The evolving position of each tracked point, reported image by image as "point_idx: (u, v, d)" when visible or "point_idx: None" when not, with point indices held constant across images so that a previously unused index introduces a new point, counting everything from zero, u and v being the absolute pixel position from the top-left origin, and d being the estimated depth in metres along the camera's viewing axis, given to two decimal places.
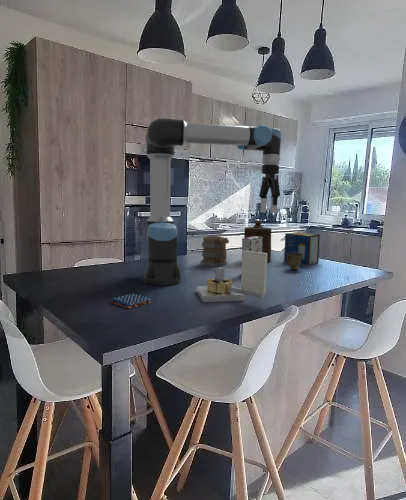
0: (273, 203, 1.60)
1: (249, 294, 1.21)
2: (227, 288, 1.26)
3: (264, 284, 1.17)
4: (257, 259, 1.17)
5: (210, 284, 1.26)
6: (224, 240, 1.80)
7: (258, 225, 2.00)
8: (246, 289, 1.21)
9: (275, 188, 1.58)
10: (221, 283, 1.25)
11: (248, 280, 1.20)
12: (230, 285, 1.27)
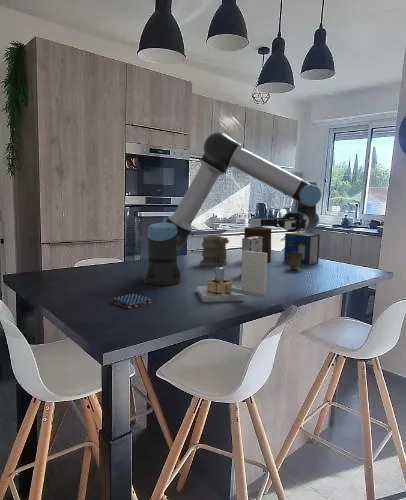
0: (294, 223, 1.24)
1: (249, 294, 1.21)
2: (227, 288, 1.26)
3: (264, 284, 1.17)
4: (257, 259, 1.17)
5: (210, 284, 1.26)
6: (224, 240, 1.80)
7: None
8: (246, 289, 1.21)
9: None
10: (221, 283, 1.25)
11: (248, 280, 1.20)
12: (230, 285, 1.27)
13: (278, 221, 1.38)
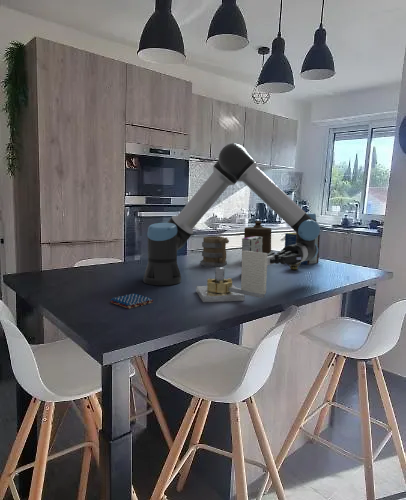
0: (272, 259, 1.28)
1: (249, 294, 1.21)
2: (227, 288, 1.26)
3: (264, 284, 1.17)
4: (257, 259, 1.17)
5: (210, 284, 1.26)
6: (224, 240, 1.80)
7: (258, 225, 2.00)
8: (246, 289, 1.21)
9: (288, 258, 1.31)
10: (221, 283, 1.25)
11: (248, 280, 1.20)
12: (230, 285, 1.27)
13: None
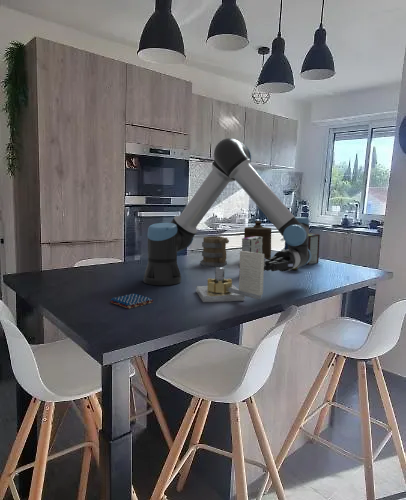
0: None
1: (246, 295, 1.20)
2: (226, 288, 1.26)
3: (260, 285, 1.16)
4: (254, 260, 1.16)
5: (209, 284, 1.27)
6: (224, 240, 1.80)
7: (258, 225, 2.00)
8: (243, 290, 1.20)
9: (279, 264, 1.25)
10: (220, 283, 1.25)
11: (245, 281, 1.20)
12: (229, 285, 1.27)
13: None
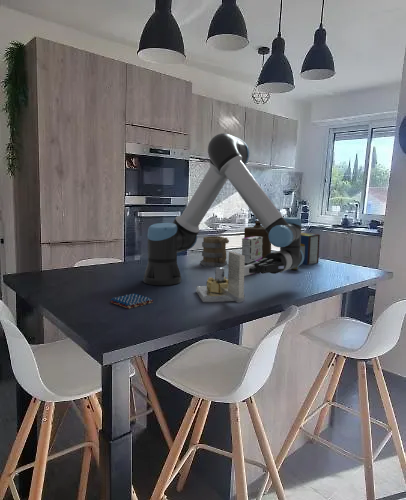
0: (252, 268, 1.18)
1: (231, 297, 1.17)
2: (220, 288, 1.25)
3: (239, 288, 1.12)
4: (236, 261, 1.13)
5: (207, 283, 1.29)
6: (224, 240, 1.80)
7: (258, 225, 2.00)
8: (230, 291, 1.18)
9: (269, 267, 1.20)
10: (214, 283, 1.25)
11: (231, 282, 1.17)
12: (225, 286, 1.26)
13: None
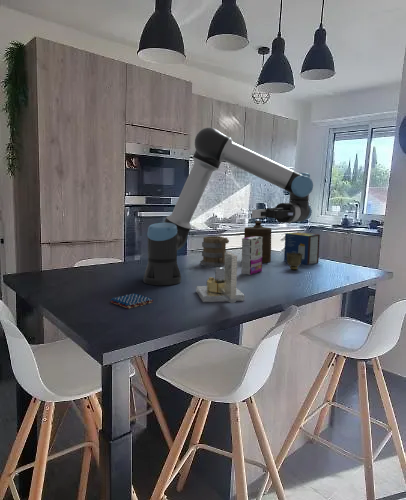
0: (263, 211, 1.27)
1: (226, 297, 1.17)
2: (219, 288, 1.25)
3: (232, 288, 1.11)
4: (229, 261, 1.13)
5: (207, 282, 1.29)
6: (224, 240, 1.80)
7: (258, 225, 2.00)
8: (225, 291, 1.18)
9: (280, 212, 1.30)
10: (213, 282, 1.26)
11: (226, 282, 1.17)
12: (224, 286, 1.25)
13: None
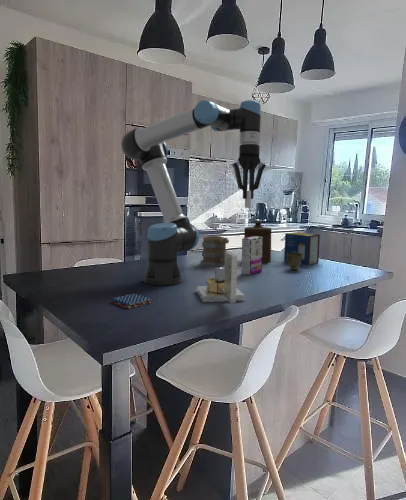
0: None
1: (226, 297, 1.17)
2: (219, 288, 1.25)
3: (232, 288, 1.11)
4: (229, 261, 1.13)
5: (207, 282, 1.29)
6: (224, 240, 1.80)
7: (258, 225, 2.00)
8: (225, 291, 1.18)
9: (237, 180, 1.41)
10: (213, 282, 1.26)
11: (226, 282, 1.17)
12: (224, 286, 1.25)
13: None
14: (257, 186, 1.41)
